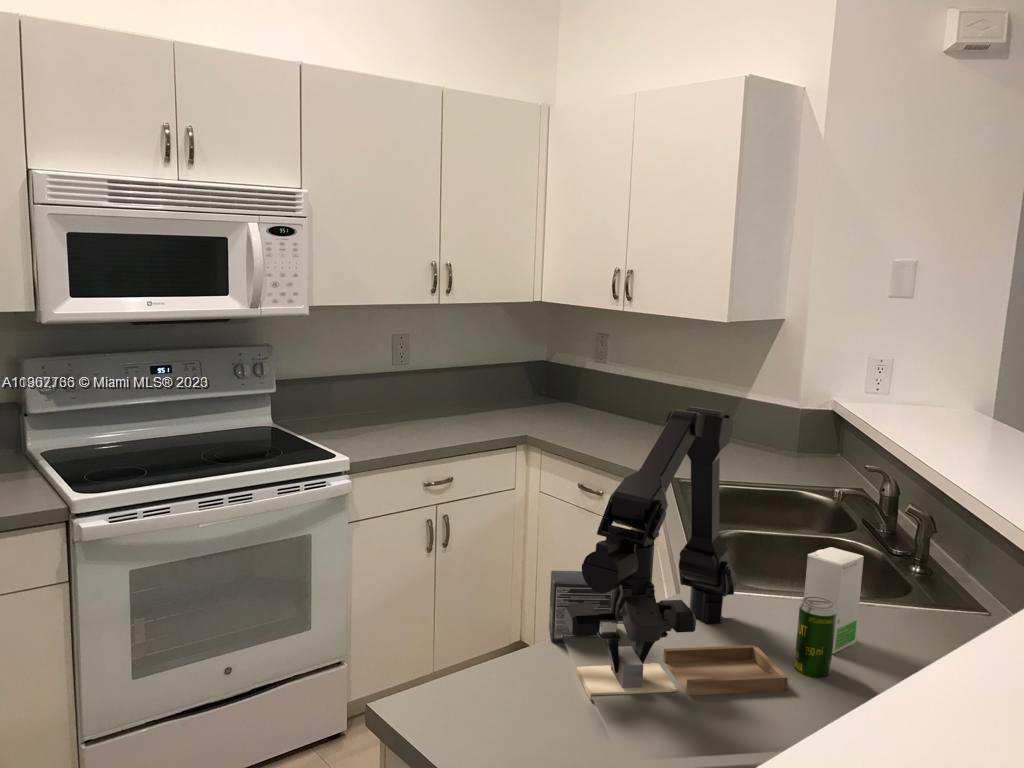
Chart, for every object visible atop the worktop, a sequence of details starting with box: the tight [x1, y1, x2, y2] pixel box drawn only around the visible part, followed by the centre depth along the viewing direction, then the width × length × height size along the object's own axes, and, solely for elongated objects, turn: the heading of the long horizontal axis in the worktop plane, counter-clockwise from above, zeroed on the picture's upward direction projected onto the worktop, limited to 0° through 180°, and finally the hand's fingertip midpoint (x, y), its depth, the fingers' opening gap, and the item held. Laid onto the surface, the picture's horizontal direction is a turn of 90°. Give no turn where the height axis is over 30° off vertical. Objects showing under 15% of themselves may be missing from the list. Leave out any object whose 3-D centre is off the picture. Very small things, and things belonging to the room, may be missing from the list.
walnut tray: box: [662, 644, 789, 696], centre depth 129 cm, size 11×15×3 cm
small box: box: [548, 570, 612, 643], centre depth 142 cm, size 11×6×10 cm, turn 92°
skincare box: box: [803, 546, 865, 655], centre depth 143 cm, size 8×7×16 cm
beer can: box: [793, 596, 836, 679], centre depth 131 cm, size 5×5×12 cm
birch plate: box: [576, 645, 678, 701], centre depth 126 cm, size 8×13×4 cm, turn 100°
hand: (626, 671), depth 126 cm, fingers closed on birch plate, 3 cm apart
